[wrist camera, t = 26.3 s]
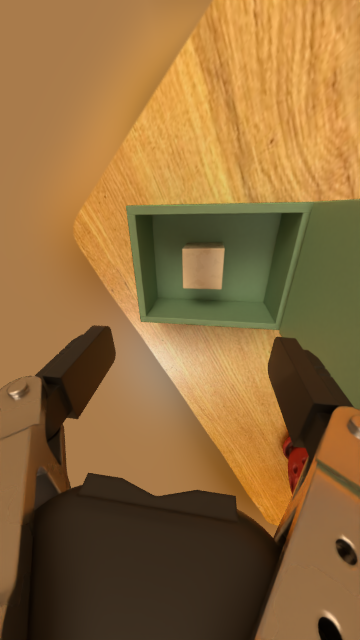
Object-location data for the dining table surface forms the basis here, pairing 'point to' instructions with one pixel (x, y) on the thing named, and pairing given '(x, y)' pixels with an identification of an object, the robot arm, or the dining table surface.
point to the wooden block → (203, 265)
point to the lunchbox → (239, 261)
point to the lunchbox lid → (329, 293)
